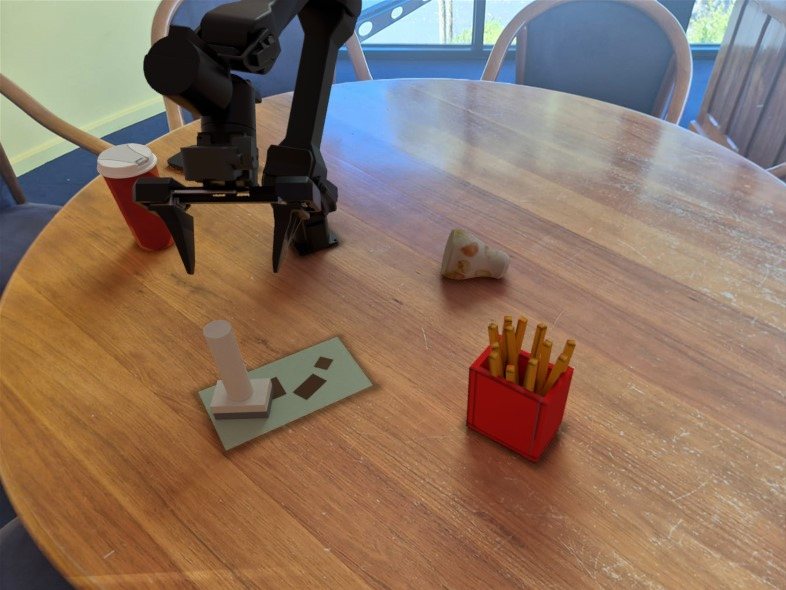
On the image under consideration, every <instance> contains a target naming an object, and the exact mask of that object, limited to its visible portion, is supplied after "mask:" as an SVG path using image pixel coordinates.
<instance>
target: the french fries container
mask: <svg viewBox="0 0 786 590" xmlns="http://www.w3.org/2000/svg"><path fill="white" fill-rule="evenodd" d="M528 321H529V318H526V317H524V316H520V317H519V318H518V319H517V324H516V328H515V326H514V325H513V316H512V315H504V317H503V323H502V330H501V334H500V333H499V324H497V323H494V322H491V323H490V324H489V325H488V326H487V332H488V341H489V344H488V346H486V348H485V349H484V350H483V351H482V352H481V353H480V354H479V356H478V357H477V358H476V359H475V360H474V361H473V362H472V363H471V364H470V366H469V367H468V383H467V401H466V403H467V405H466V421H465V422H466V423H465V426H466V427H467V428H468V429H471V430H473V431H475V432H476V433H477V434H480V435H482V436H484V437H486V438H488V439H489V440H492V441H493V442H495V443H497V444H499V445H501V446H502V447H505V448H506V449H508V450H510V451H512V452H514V453H515V454H518V455H520V456H522V457H524V458H525V459H527V460H529V461H531V462H533V463H535V464H537V463H538V461H539V460H540V458H541V457H542V455H544V454H543V453H544V452H545V451H546V449H547V448H548V446H549V445H550V444H551V442H552V440H553V439H554V437H555V436H556V434H557V433H558V431H559V427H560V426H561V425H562V423H563V419H564V415H565V411H566V406H567V401H568V396H569V393H570V388H571V383H572V379H573V375H574V371H575V368H574V367H572V366H571V365H570V362H571V359H572V357H573V354H574V351H575V349H576V346H577V343H576V340H575V339H568V338H567V340H566V341H565V343H564V344H565V345H564V347H563V350H562V352H561V353H560V354H559V355H558V357H557V358H556V360H555V362H554V363H551V362H550V360H551V355H552V350H553V349H552V348H553V341H552V340H549V339H545V338H546V335H547V331H548V325H546V324H544V323H543V322H541V323H539V324H537V325H536V328H535V332H534V337H533V341H532V345H531V349H530V352H528V351H526V350H524V349H522V346H523V342H524V338H525V333H526V330H527V326H528Z"/></svg>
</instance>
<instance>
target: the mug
mask: <svg viewBox="0 0 786 590" xmlns="http://www.w3.org/2000/svg"><path fill="white" fill-rule="evenodd" d="M510 261H511V260H510V257H509V255H508V254H507V253H506V252H505V251H501V250H499V249H495V248H492V247H490V246H489V245H487V243H485V242H483V241H482V240H480V239H479V237H476V236H475V235H473V234H472V233H470V232H469V231H466V230H465V229H458V228H456V229H452V230H451V231H450V233H449V236H448V238H447V241H446V244H445V247H444V251H443V255H442V259H441V267H440V275H441V276H443V277H444V278H448V279H451V280H456V281H457V280H467V279H473V278H479V277H487V278H493V279H497V280H498V279H502V278H504V277H505V276H506V275H507V273H508V270H509V266H510V263H511V262H510Z"/></svg>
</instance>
